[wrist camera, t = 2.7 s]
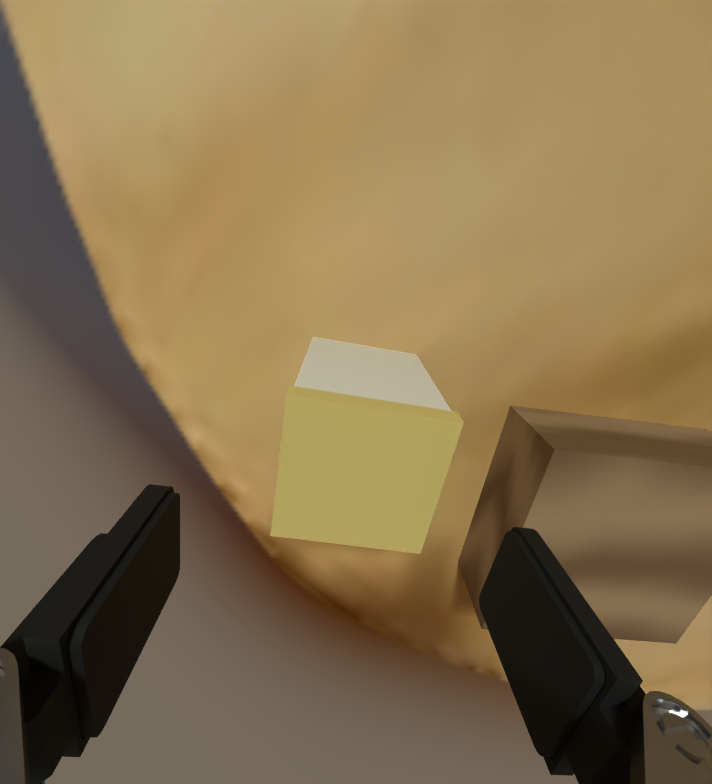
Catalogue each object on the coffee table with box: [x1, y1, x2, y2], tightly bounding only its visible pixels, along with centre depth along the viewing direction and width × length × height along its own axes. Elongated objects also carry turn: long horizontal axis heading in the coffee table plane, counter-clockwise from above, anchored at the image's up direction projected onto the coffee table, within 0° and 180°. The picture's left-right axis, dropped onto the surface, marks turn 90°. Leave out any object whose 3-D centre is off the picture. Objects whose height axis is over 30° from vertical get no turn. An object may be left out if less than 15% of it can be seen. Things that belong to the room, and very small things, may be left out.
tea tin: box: [270, 337, 464, 554], centre depth 16 cm, size 6×6×8 cm
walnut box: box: [458, 406, 712, 643], centre depth 21 cm, size 12×12×5 cm
